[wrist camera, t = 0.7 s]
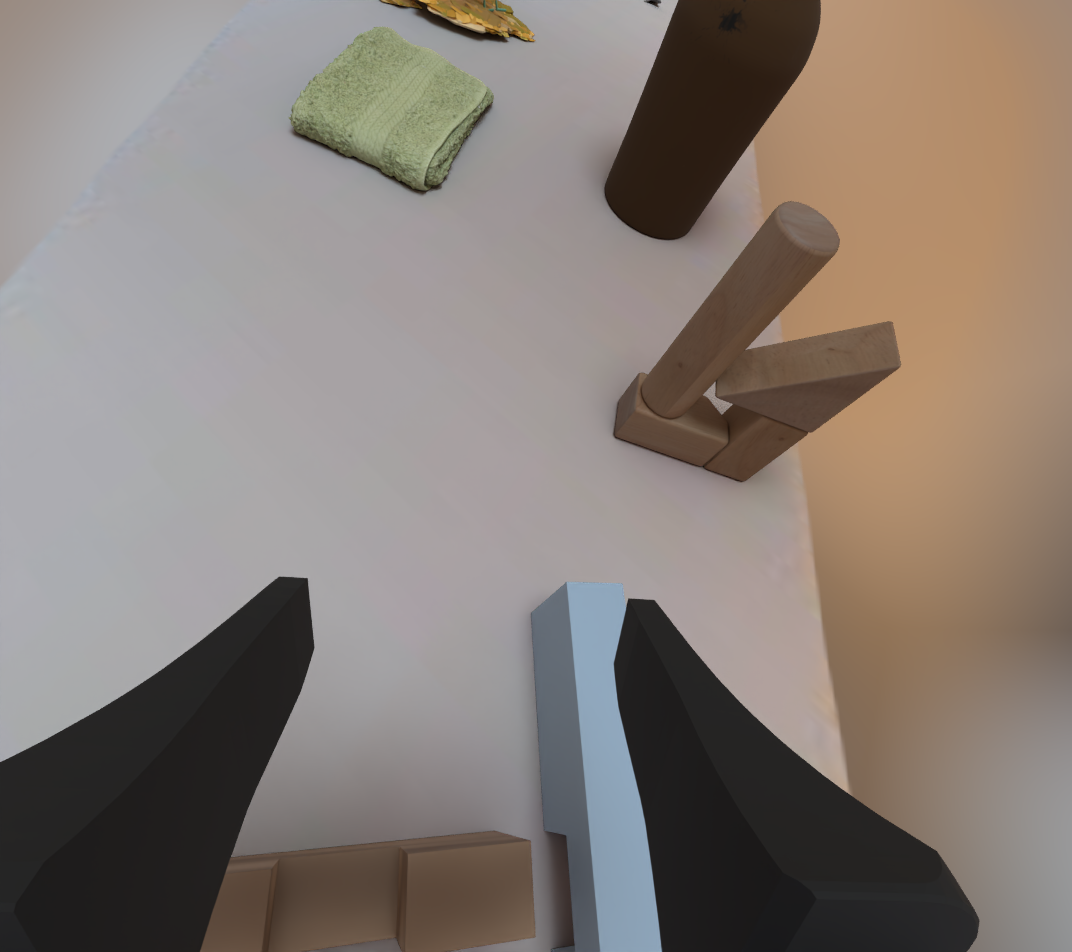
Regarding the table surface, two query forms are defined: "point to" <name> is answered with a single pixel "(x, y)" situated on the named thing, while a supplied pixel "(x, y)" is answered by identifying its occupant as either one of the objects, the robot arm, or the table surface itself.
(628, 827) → the slate crossbar
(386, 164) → the washcloth
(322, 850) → the walnut beam
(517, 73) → the table surface
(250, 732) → the robot arm
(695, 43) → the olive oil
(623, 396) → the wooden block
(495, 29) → the frog figurine
